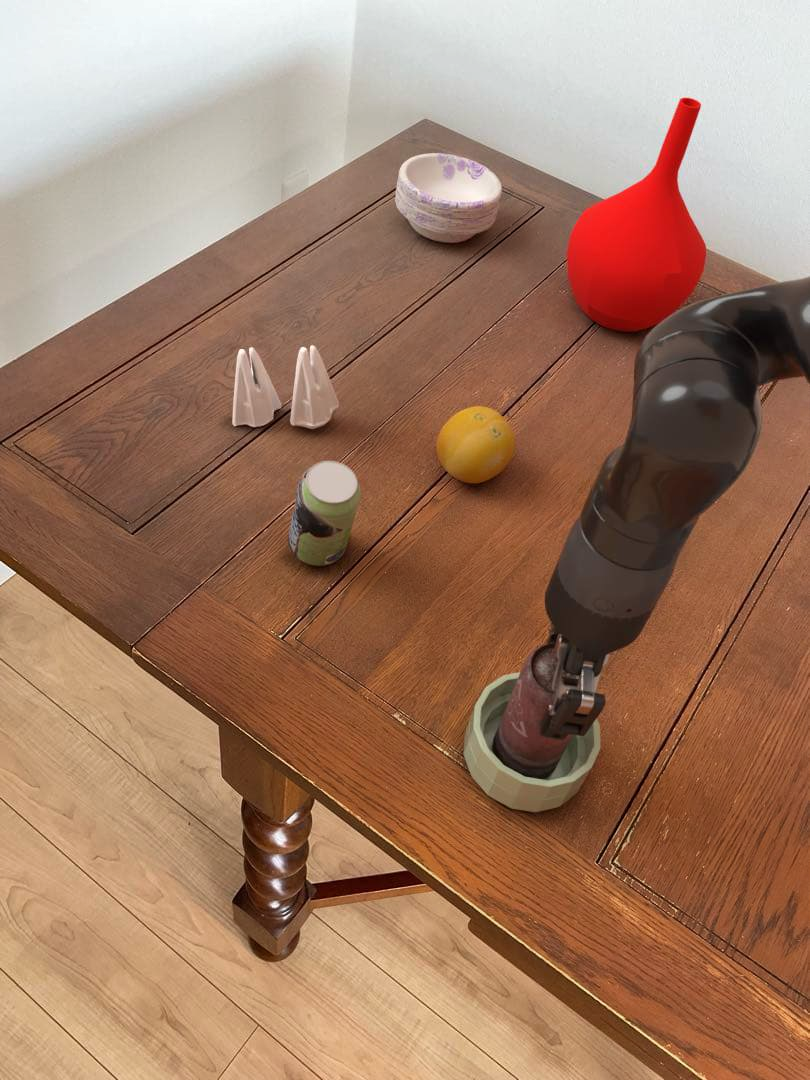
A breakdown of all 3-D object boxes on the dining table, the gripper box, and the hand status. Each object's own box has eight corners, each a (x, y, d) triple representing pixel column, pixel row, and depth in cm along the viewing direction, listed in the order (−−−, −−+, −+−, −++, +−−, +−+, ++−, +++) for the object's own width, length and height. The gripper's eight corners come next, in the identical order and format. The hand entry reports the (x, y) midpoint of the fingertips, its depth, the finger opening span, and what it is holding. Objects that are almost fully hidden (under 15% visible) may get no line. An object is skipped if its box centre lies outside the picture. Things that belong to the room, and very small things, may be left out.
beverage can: (325, 518, 104) (334, 437, 95) (363, 564, 101) (377, 484, 92) (274, 540, 101) (279, 458, 92) (312, 588, 98) (321, 508, 89)
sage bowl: (581, 713, 92) (598, 682, 88) (584, 823, 85) (602, 795, 81) (466, 694, 92) (477, 662, 88) (458, 803, 84) (470, 774, 80)
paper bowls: (485, 203, 151) (496, 155, 145) (497, 259, 142) (509, 210, 136) (389, 194, 149) (395, 145, 143) (394, 250, 139) (402, 200, 133)
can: (528, 800, 85) (569, 718, 74) (477, 749, 88) (510, 663, 77) (572, 761, 88) (618, 677, 78) (522, 712, 91) (560, 625, 80)
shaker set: (337, 414, 115) (346, 339, 107) (335, 438, 112) (344, 363, 104) (236, 402, 114) (236, 326, 106) (231, 426, 111) (231, 350, 103)
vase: (539, 326, 132) (602, 112, 110) (566, 259, 144) (628, 54, 122) (669, 367, 130) (760, 157, 108) (686, 295, 142) (771, 93, 120)
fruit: (476, 508, 108) (491, 456, 102) (419, 471, 111) (430, 419, 105) (518, 468, 113) (534, 417, 107) (462, 434, 116) (475, 382, 110)
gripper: (671, 665, 64) (598, 783, 76) (655, 507, 73) (593, 635, 86) (559, 647, 63) (505, 768, 76) (558, 491, 73) (509, 622, 85)
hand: (552, 697), depth 81 cm, fingers closed on can, 6 cm apart
